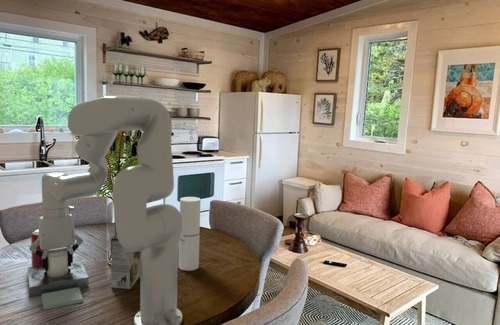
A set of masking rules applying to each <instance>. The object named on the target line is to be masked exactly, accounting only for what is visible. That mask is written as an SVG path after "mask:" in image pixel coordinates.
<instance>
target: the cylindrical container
mask: <svg viewBox="0 0 500 325" xmlns="http://www.w3.org/2000/svg"><path fill="white" fill-rule="evenodd" d="M201 200H202V199H201V198H200V197H198V196H197V197H196V196H184V197H180V199H179V212H180V214H181V217H182V232H181V237H180V241H179V249H178V268H179V269H180V270H181V271H189V272H190V271H195V270H197V269H199V266H200V265H199V264H200V261H199V260H200V234H201V232H200V231H201V230H200V228H201V227H200V226H201V225H200V224H201Z"/></svg>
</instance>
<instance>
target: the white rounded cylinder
mask: <svg viewBox="0 0 500 325" xmlns="http://www.w3.org/2000/svg"><path fill="white" fill-rule="evenodd" d="M47 258H48V271H47V277H60V276H64V275H67V274H68V249H67V247H63V248H56V249H50V250H49V251H48V253H47Z"/></svg>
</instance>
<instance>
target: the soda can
mask: <svg viewBox="0 0 500 325" xmlns="http://www.w3.org/2000/svg"><path fill="white" fill-rule="evenodd" d="M37 239H38V229H37V230H33V231H32V232H31V234H30V246H31V245H32V244H33V243H34V242H35V241H36V240H37ZM36 248H37V249H38V250H40V251H42V249H41V248H40V246H39V245H38V246H37V247H36ZM30 252H31V253H30V254H31V255H30V256H31V267H33V266H40V265H42V258H41V257H39V256H38V255H36V254H35V253H34V252H32V251H30Z"/></svg>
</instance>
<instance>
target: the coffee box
mask: <svg viewBox="0 0 500 325" xmlns="http://www.w3.org/2000/svg"><path fill="white" fill-rule="evenodd" d="M110 241H111V242H110V245H111V246H110V251H111V252H110V253H111V254H110V260H111V262H110V266H111V268H110V269H111V270H110V276H111V277H110V279H111V280H110V282H111V283H110V286H111V288H113V289H114V288H116V289H128V290H130V289H131V288H132V287H133V286H134V285H135V284H136V282H137V280H139V278H140V269H141V251H138V252H129V251H127V250H125V249H124V248H123V247H122V246H121V244H120V243H119V240H118V238H117V233H116V234H115V235H114V236H113V237H111V239H110Z"/></svg>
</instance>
